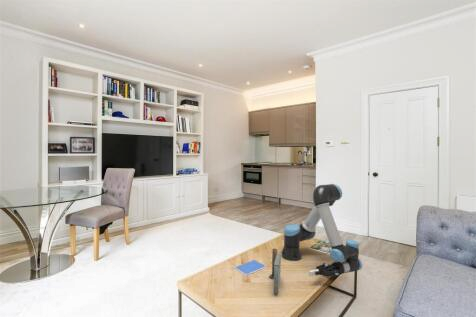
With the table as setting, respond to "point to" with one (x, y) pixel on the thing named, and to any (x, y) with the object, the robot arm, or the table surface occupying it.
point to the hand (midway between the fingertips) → (309, 273)
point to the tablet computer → (250, 267)
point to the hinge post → (273, 262)
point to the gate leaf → (277, 272)
